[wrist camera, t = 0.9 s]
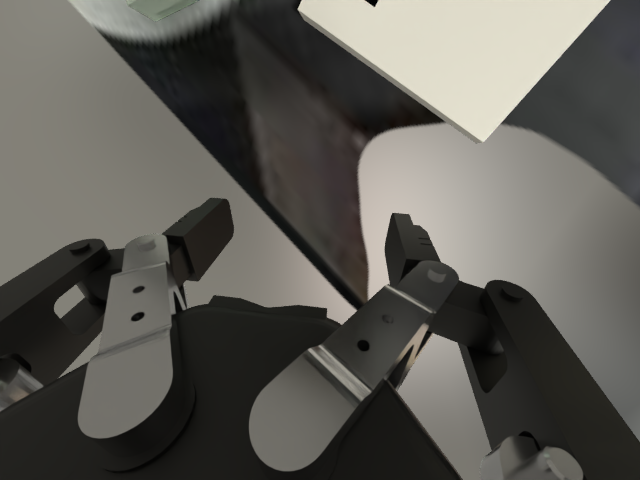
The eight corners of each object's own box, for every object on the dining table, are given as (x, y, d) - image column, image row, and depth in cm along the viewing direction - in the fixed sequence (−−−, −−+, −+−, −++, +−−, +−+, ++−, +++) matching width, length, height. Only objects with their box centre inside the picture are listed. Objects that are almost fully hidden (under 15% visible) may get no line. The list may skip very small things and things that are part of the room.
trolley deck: (304, 19, 26) (297, 9, 24) (376, -136, 21) (375, -165, 19) (476, 143, 25) (483, 142, 23) (590, 13, 20) (611, -1, 19)
